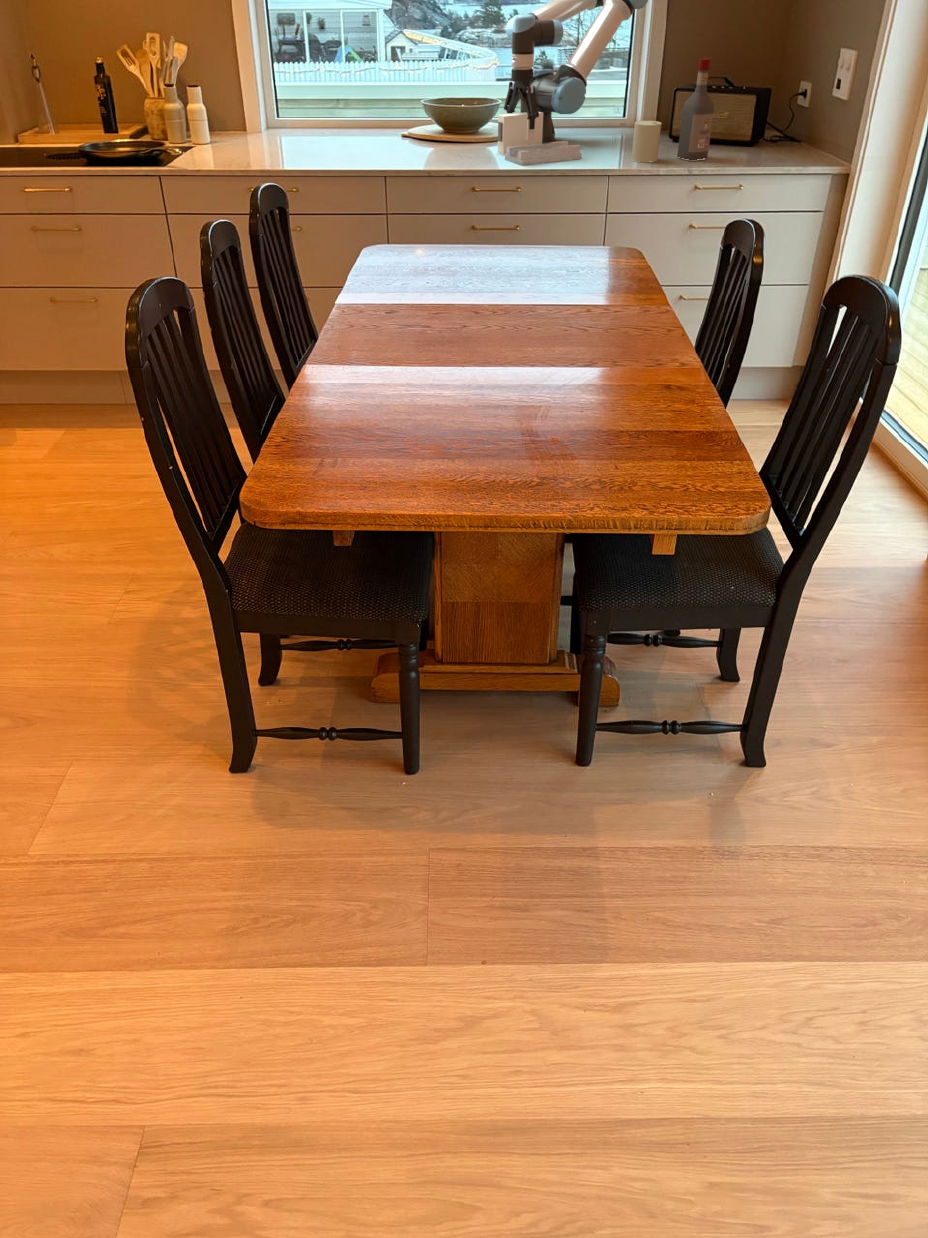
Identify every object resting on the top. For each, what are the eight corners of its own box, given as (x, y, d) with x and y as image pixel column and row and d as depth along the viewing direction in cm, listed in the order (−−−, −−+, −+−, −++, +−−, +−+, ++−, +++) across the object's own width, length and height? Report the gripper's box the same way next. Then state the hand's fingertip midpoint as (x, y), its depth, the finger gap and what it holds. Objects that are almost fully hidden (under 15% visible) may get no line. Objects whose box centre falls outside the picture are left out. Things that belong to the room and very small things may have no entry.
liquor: (710, 159, 326) (725, 59, 308) (690, 162, 322) (704, 60, 305) (692, 154, 333) (705, 56, 315) (673, 157, 329) (685, 58, 311)
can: (651, 163, 321) (655, 124, 314) (626, 160, 325) (630, 121, 318) (661, 158, 327) (666, 120, 320) (637, 156, 331) (641, 117, 324)
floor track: (563, 152, 336) (563, 140, 334) (581, 158, 328) (582, 145, 325) (504, 158, 327) (504, 146, 325) (522, 165, 319) (522, 152, 316)
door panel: (536, 148, 343) (537, 111, 336) (541, 149, 340) (543, 112, 333) (496, 152, 337) (497, 114, 330) (501, 154, 334) (502, 116, 327)
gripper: (495, 64, 331) (494, 131, 343) (531, 72, 313) (529, 142, 326) (513, 63, 334) (512, 129, 346) (550, 71, 316) (547, 140, 329)
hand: (520, 136), depth 336 cm, fingers open, 13 cm apart
